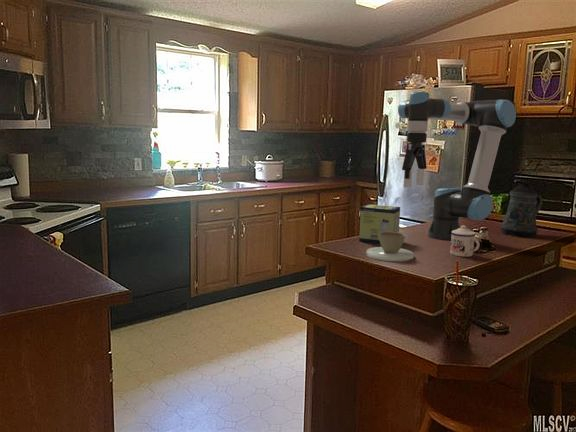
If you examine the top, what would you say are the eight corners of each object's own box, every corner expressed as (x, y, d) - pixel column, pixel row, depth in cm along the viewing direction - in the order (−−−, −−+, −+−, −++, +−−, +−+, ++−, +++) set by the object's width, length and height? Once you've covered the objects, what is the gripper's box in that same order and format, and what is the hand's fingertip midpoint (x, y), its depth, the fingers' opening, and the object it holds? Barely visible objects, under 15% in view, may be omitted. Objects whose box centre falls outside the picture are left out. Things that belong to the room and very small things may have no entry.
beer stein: (495, 234, 247) (500, 183, 243) (508, 229, 262) (513, 181, 258) (531, 239, 237) (537, 186, 232) (542, 233, 251) (548, 183, 247)
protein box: (365, 237, 232) (367, 203, 229) (398, 241, 225) (401, 206, 222) (358, 241, 222) (359, 206, 220) (393, 245, 216) (395, 209, 213)
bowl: (404, 255, 191) (405, 237, 189) (377, 254, 192) (378, 235, 191) (403, 250, 200) (404, 232, 199) (378, 248, 202) (379, 230, 201)
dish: (378, 248, 209) (378, 244, 209) (420, 255, 199) (420, 251, 199) (358, 256, 194) (358, 252, 194) (402, 264, 184) (403, 260, 184)
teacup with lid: (444, 253, 203) (447, 225, 201) (458, 250, 208) (460, 223, 207) (470, 259, 194) (473, 230, 192) (484, 256, 199) (487, 228, 197)
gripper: (419, 132, 210) (415, 183, 213) (395, 131, 190) (392, 187, 193) (436, 132, 206) (433, 184, 209) (414, 131, 185) (411, 189, 189)
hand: (413, 186), depth 201 cm, fingers open, 13 cm apart
